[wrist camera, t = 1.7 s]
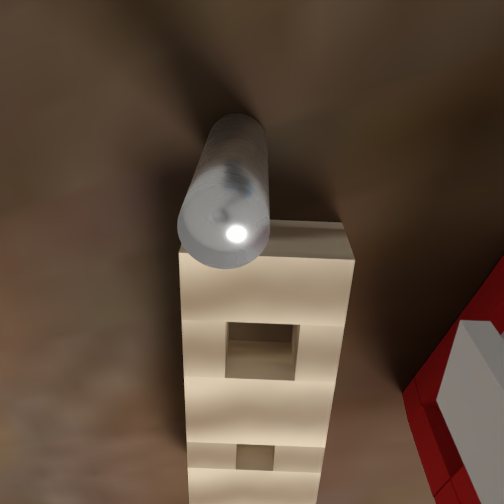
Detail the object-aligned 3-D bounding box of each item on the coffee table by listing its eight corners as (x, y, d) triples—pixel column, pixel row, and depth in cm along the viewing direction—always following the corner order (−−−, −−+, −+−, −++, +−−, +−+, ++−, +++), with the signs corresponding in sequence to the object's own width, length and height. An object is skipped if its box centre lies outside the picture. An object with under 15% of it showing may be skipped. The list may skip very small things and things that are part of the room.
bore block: (190, 216, 31) (178, 252, 27) (342, 222, 31) (355, 259, 27) (197, 460, 43) (189, 513, 38) (308, 464, 43) (313, 518, 39)
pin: (207, 111, 28) (175, 183, 18) (268, 114, 28) (272, 187, 18) (208, 170, 30) (179, 267, 19) (265, 172, 30) (267, 270, 19)
